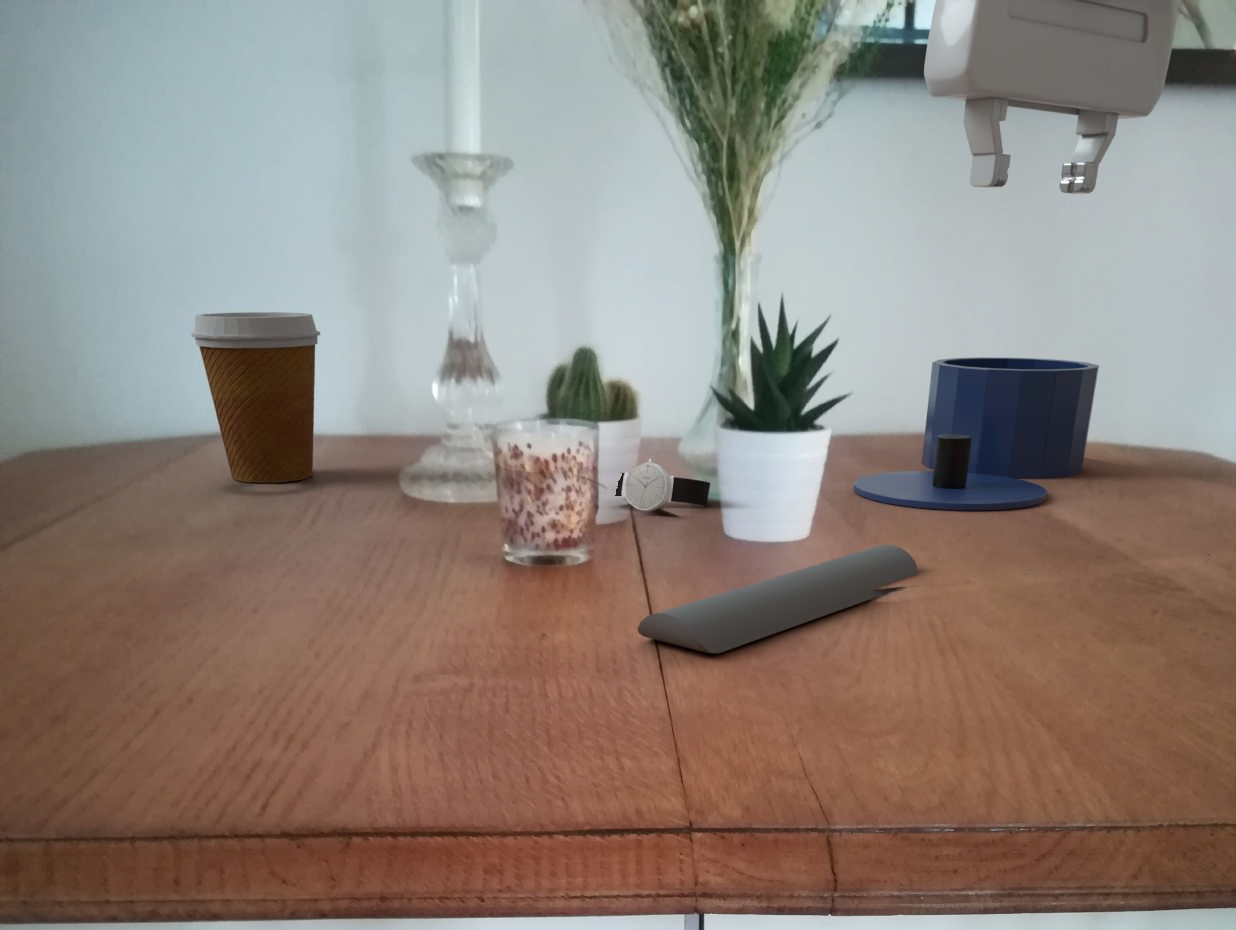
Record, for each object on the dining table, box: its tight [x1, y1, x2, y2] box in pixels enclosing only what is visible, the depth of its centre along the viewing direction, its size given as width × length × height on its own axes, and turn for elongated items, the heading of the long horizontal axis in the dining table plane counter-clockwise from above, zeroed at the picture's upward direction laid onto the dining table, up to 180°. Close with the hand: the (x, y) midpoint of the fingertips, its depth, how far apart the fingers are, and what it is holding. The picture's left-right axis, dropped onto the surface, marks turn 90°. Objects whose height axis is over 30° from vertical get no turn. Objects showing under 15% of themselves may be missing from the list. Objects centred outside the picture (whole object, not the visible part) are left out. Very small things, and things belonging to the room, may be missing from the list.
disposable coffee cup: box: [190, 311, 321, 484], centre depth 95 cm, size 10×10×12 cm
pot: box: [921, 356, 1100, 480], centre depth 99 cm, size 13×13×8 cm
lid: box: [853, 434, 1048, 512], centre depth 88 cm, size 14×14×5 cm
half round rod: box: [637, 544, 919, 654], centre depth 61 cm, size 4×20×2 cm, turn 138°
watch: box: [615, 458, 711, 513], centre depth 85 cm, size 8×5×4 cm, turn 63°
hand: (1033, 190), depth 79 cm, fingers open, 8 cm apart
